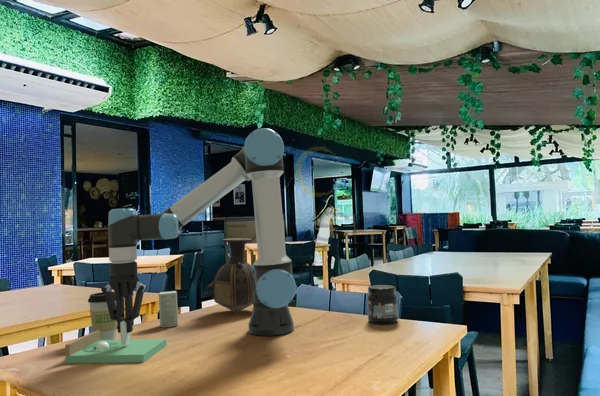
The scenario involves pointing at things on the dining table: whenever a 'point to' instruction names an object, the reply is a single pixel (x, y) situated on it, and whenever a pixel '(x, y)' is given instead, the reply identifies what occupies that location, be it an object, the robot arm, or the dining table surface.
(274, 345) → the dining table surface
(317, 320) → the dining table surface
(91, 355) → the putting platform
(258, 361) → the dining table surface
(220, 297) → the vase
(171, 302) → the skincare box
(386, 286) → the supplement container
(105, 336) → the coffee cup
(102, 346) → the ball
